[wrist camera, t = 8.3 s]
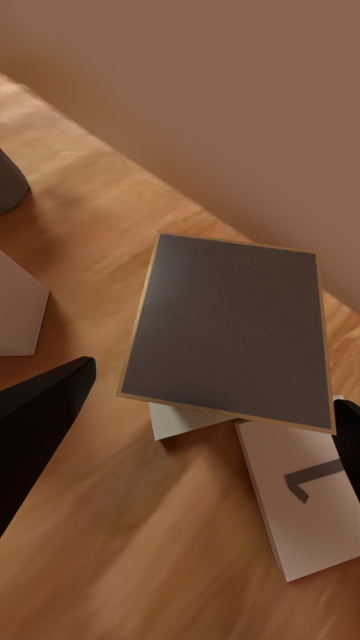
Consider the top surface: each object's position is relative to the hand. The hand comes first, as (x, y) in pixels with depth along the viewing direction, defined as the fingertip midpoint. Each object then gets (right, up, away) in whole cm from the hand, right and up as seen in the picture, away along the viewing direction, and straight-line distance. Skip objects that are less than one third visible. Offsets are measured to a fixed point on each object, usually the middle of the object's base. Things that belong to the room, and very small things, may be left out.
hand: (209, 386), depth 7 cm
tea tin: (0, -1, +9) cm, 9 cm away
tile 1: (+9, -9, +8) cm, 15 cm away
